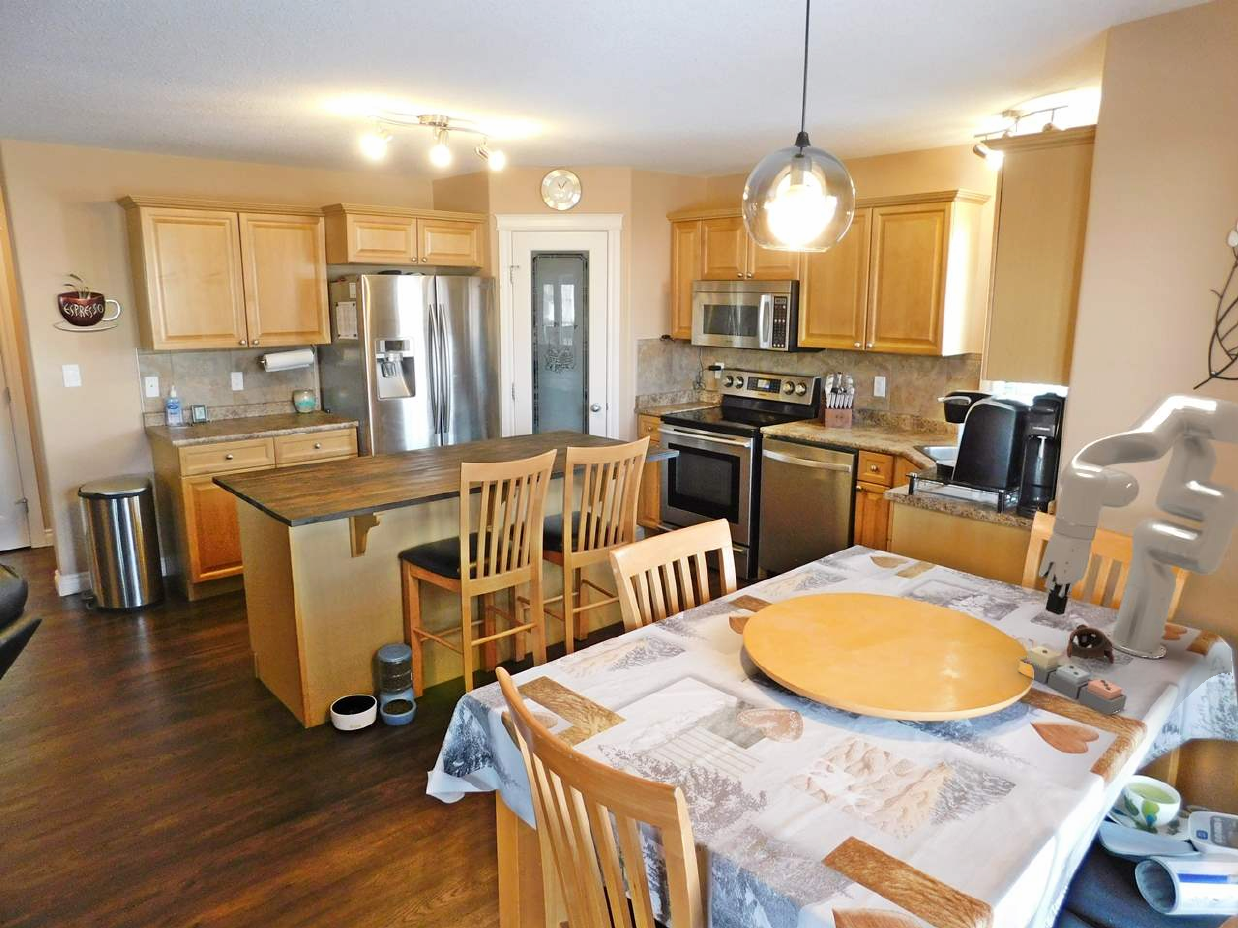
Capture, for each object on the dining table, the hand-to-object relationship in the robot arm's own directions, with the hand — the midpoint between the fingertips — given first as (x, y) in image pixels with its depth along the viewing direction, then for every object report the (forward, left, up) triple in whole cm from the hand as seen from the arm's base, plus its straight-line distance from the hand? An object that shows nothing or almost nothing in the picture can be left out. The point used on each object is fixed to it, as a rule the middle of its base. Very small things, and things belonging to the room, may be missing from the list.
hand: (1054, 611), depth 170 cm
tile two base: (0, +6, -15) cm, 16 cm away
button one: (0, 0, -13) cm, 13 cm away
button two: (0, +6, -14) cm, 16 cm away
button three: (0, +13, -14) cm, 19 cm away
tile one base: (0, 0, -15) cm, 15 cm away
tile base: (0, +13, -15) cm, 20 cm away
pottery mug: (-21, -1, -15) cm, 26 cm away
